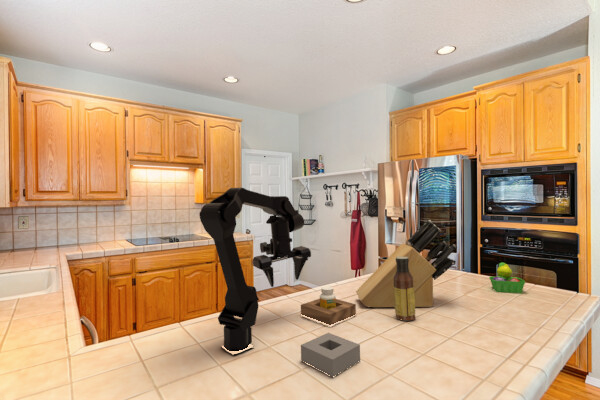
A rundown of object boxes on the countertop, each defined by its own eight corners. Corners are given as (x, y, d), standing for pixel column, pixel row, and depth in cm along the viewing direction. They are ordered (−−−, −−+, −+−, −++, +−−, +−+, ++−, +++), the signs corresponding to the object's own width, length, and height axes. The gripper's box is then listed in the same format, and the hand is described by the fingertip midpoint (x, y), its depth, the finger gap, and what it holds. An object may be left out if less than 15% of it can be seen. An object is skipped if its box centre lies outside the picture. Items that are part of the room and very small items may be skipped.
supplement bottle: (328, 312, 108) (328, 285, 108) (339, 317, 104) (338, 288, 104) (316, 316, 105) (316, 287, 105) (327, 321, 101) (326, 291, 101)
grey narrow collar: (332, 378, 68) (332, 359, 68) (301, 361, 75) (300, 344, 75) (360, 361, 75) (359, 344, 75) (328, 347, 82) (328, 332, 82)
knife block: (460, 308, 111) (458, 220, 111) (360, 309, 111) (359, 222, 112) (446, 298, 122) (444, 219, 122) (355, 299, 122) (354, 220, 123)
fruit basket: (494, 292, 128) (493, 265, 128) (488, 287, 137) (487, 261, 137) (526, 294, 125) (525, 266, 125) (518, 288, 133) (517, 262, 134)
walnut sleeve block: (330, 327, 95) (330, 314, 95) (300, 316, 105) (300, 304, 105) (355, 316, 104) (355, 304, 104) (326, 307, 114) (326, 296, 114)
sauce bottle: (412, 315, 105) (411, 255, 105) (417, 322, 98) (416, 259, 99) (392, 314, 105) (391, 255, 105) (396, 321, 99) (395, 259, 99)
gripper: (292, 228, 111) (296, 270, 113) (243, 237, 101) (248, 283, 103) (310, 231, 102) (313, 278, 103) (258, 242, 92) (262, 293, 93)
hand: (284, 282), depth 101 cm, fingers open, 9 cm apart
